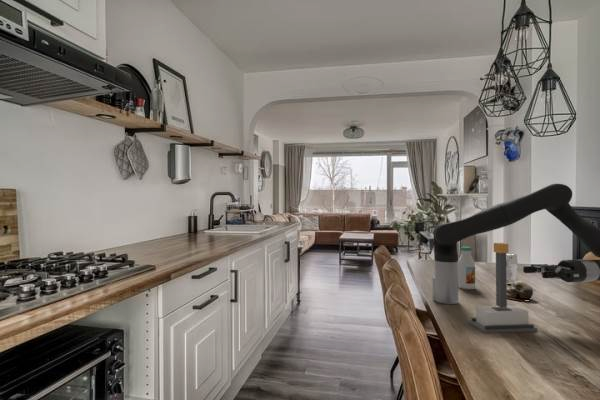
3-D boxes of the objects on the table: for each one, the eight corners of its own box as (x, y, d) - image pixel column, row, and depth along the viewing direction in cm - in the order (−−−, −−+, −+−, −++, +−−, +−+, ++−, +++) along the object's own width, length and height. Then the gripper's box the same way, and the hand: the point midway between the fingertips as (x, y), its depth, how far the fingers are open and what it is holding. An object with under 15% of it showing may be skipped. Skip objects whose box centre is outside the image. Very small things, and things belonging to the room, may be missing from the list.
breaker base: (517, 321, 120) (517, 303, 120) (537, 331, 111) (537, 312, 111) (468, 323, 119) (468, 305, 119) (484, 332, 110) (483, 313, 110)
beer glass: (503, 281, 180) (502, 252, 181) (518, 283, 176) (518, 254, 176) (500, 283, 175) (500, 254, 175) (516, 285, 171) (516, 255, 171)
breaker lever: (502, 304, 117) (502, 242, 117) (509, 307, 113) (508, 243, 114) (494, 304, 116) (493, 242, 117) (500, 307, 113) (499, 244, 113)
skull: (499, 296, 148) (501, 276, 153) (503, 308, 153) (505, 288, 159) (533, 300, 140) (534, 279, 146) (536, 313, 146) (536, 292, 151)
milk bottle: (459, 289, 165) (459, 247, 165) (456, 285, 172) (455, 245, 172) (477, 290, 163) (476, 248, 163) (473, 286, 170) (472, 246, 171)
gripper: (560, 256, 124) (517, 257, 123) (597, 263, 110) (549, 264, 109) (561, 277, 124) (518, 278, 123) (598, 286, 110) (550, 288, 109)
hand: (533, 272), depth 116 cm, fingers open, 8 cm apart
